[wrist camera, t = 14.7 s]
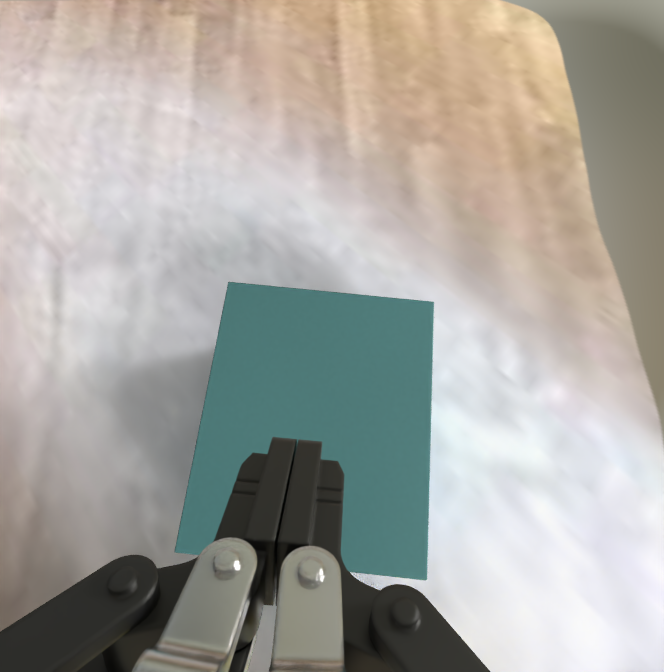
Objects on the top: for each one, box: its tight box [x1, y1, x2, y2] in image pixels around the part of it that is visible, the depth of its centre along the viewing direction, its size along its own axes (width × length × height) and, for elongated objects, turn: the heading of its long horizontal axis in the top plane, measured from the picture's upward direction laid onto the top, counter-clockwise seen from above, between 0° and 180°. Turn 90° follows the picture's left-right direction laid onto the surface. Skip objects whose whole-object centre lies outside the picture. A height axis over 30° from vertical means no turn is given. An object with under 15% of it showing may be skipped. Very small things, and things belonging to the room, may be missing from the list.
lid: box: [175, 282, 434, 580], centre depth 28 cm, size 17×15×1 cm
